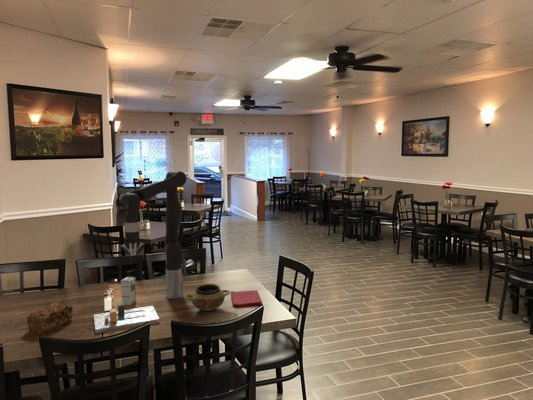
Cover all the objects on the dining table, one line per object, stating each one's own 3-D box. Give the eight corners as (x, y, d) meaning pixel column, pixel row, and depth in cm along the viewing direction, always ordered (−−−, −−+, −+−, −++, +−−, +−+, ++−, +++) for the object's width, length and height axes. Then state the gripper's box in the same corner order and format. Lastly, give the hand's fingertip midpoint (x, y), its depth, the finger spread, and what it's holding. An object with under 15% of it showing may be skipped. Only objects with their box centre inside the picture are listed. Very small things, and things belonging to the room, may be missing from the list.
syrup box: (131, 305, 230) (130, 280, 229) (121, 304, 231) (120, 279, 230) (136, 301, 236) (135, 277, 234) (127, 301, 237) (125, 276, 235)
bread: (58, 317, 214) (57, 298, 213) (74, 320, 210) (73, 301, 209) (26, 331, 197) (25, 311, 196) (42, 335, 193) (41, 314, 192)
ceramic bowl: (186, 322, 213) (186, 298, 208) (183, 302, 229) (183, 279, 224) (232, 317, 220) (233, 293, 214) (226, 298, 235) (227, 276, 230)
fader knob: (116, 317, 207) (115, 308, 206) (116, 321, 202) (116, 311, 202) (109, 318, 205) (109, 308, 205) (110, 322, 201) (110, 312, 200)
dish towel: (232, 308, 226) (232, 304, 226) (230, 294, 249) (229, 290, 249) (263, 307, 228) (263, 302, 228) (257, 292, 252) (257, 288, 251)
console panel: (152, 309, 225) (152, 296, 224) (159, 322, 206) (158, 308, 206) (94, 318, 212) (93, 304, 211) (95, 333, 194) (94, 318, 193)
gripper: (143, 228, 225) (144, 258, 227) (118, 230, 219) (119, 261, 221) (145, 230, 218) (146, 262, 220) (119, 232, 213) (121, 264, 214)
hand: (133, 261), depth 221 cm, fingers closed
